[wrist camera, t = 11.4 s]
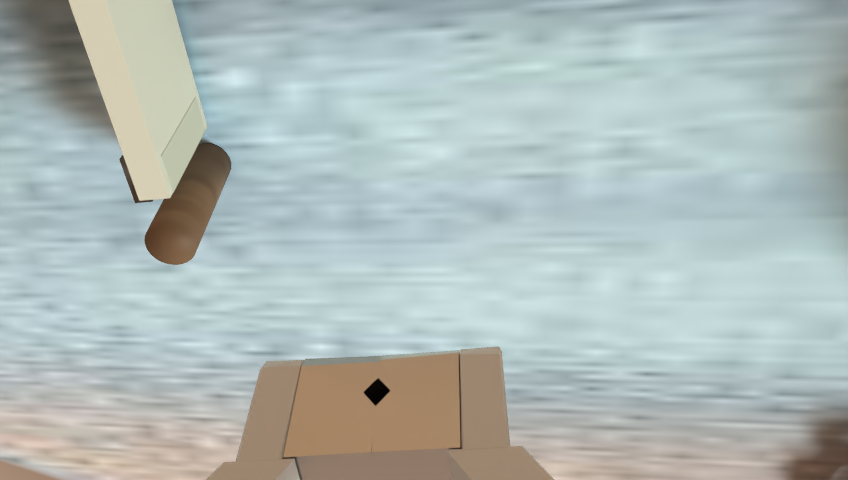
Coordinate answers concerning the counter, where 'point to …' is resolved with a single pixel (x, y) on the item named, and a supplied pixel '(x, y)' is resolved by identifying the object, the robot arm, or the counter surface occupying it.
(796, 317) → the counter surface
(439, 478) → the robot arm
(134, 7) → the gate
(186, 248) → the post
